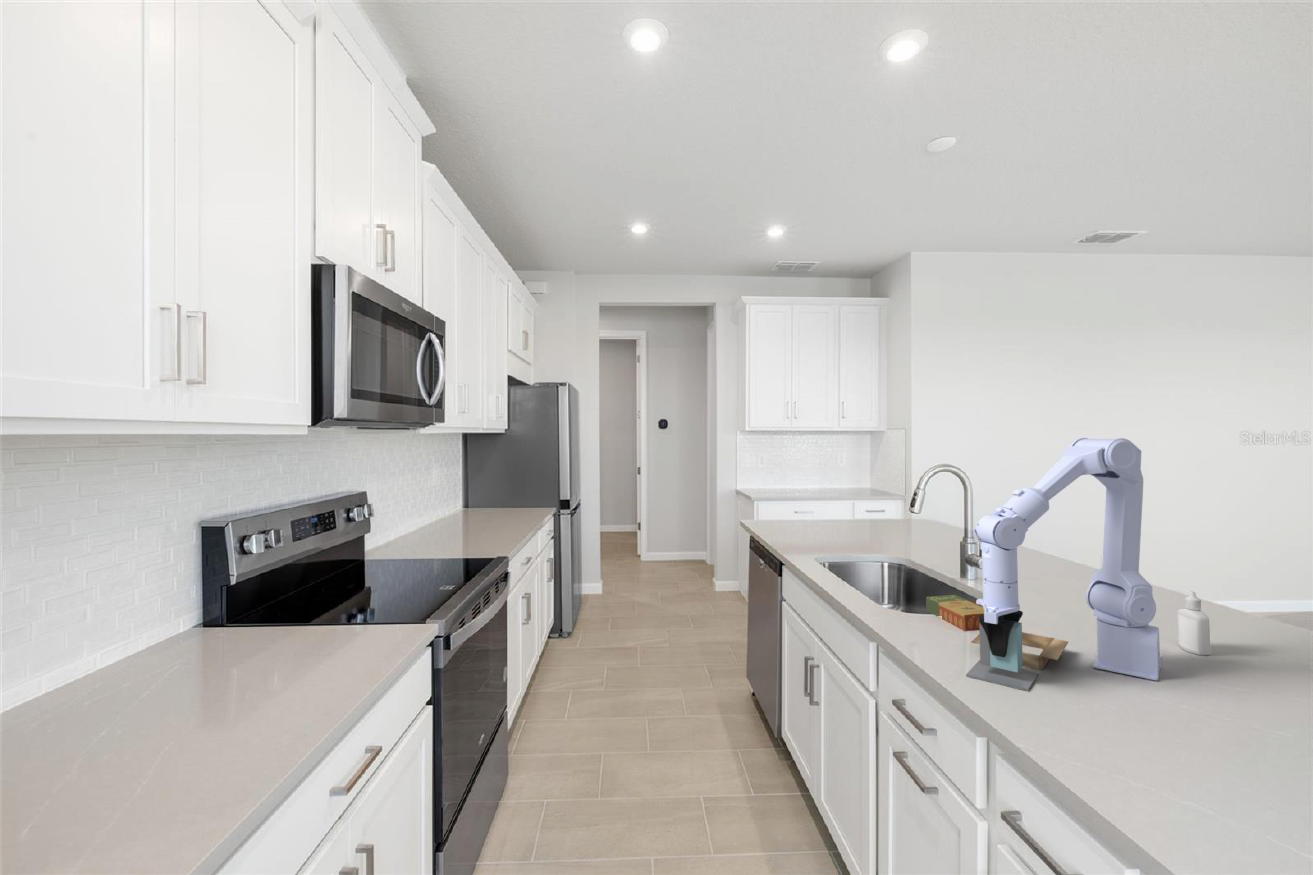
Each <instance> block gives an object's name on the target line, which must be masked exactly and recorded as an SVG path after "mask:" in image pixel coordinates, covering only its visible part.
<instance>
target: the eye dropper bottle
mask: <svg viewBox="0 0 1313 875" xmlns="http://www.w3.org/2000/svg"><path fill="white" fill-rule="evenodd" d="M1210 626H1211V625H1210V618H1209V616H1208V615H1207V614H1206V613H1205V612H1203V611H1202V599H1200V598H1198V597H1197V595H1196V592H1195V591H1190V592H1189V595H1188V596H1186V597H1184V607H1183V608H1180V609H1178V611H1177V643H1178V644H1177V645H1178V647H1180V648H1181V649H1182V650H1184V651H1186V652H1188V653H1191V654H1194V655H1198V656H1210V655H1211V630H1210V629H1211V627H1210Z"/></svg>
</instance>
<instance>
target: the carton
mask: <svg viewBox="0 0 1313 875" xmlns="http://www.w3.org/2000/svg"><path fill="white" fill-rule="evenodd" d="M925 600H926V603H925V604H926V605H925V606H926V611H927V612H928V613H930V614H931V615H934V616H935V617H937V616H942V619H941V620H943V621H945V622H947V623H948V624H950V623H951V624H950V625H953V627H956V628H957V629H960V630H961V629H962V630H961V631H963V632H972V631H980V628H979V616H980V615H981V614H982V615H984V608H983V606H982V605H978V604H976V602H972V601H970V600H968V599H966V598H963V597H961V596H959V595H956V594H948V595H947V594H946V595H934V596H933V595H932V596H926V599H925Z"/></svg>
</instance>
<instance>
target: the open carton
mask: <svg viewBox="0 0 1313 875" xmlns="http://www.w3.org/2000/svg"><path fill="white" fill-rule="evenodd" d="M970 642H971V643H972V644H975V645H976V644H977V645H980V633H978V635H976V637H974V639H972V640H971V641H970ZM1068 644H1069V641H1068V640H1063V639H1058V638H1055V637H1052V636H1044V635H1039V634H1034V633H1028V632H1024V631H1022V646H1023V645H1024V646H1028V647H1033V648H1037V649H1038V648H1039V649H1042V651H1041V652H1040V654H1033V653H1029V652H1023V651H1022V655H1023V666H1022V667H1027V668H1032V669H1037V670H1039V671H1040V670H1042V671H1043V670H1044V668H1045V666H1046V665H1047V663H1048V662H1049V661H1050V660H1055V661H1058V660H1059V658H1060V656H1061V655H1062V653H1063V651H1065V649H1066V647H1067V645H1068Z"/></svg>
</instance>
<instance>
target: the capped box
mask: <svg viewBox="0 0 1313 875" xmlns="http://www.w3.org/2000/svg"><path fill="white" fill-rule="evenodd" d="M1007 621H1008V620H1007ZM1012 622H1013V621H1012ZM979 628H980V630H979V634H980V644H979V660H980V664H982V665H986V666H991V667H996V668H1000V669H1004V670H1009V671H1013V672H1018V671H1019V670H1020V669H1022V667H1024V666H1023V655H1022V652H1023V645H1022V632H1023V624H1022V622H1020V621H1019V622H1015V624H1014V625H1013V627H1012V629H1011V632H1010V635H1009V639H1008V647H1007V653H1006V656H1005V657H999V656H994V655H992V653H991V650H990V646H989V642H988V639H987V635H986V633H985V631H984V629H983V627H982V625H981V624H980V622H979Z"/></svg>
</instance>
